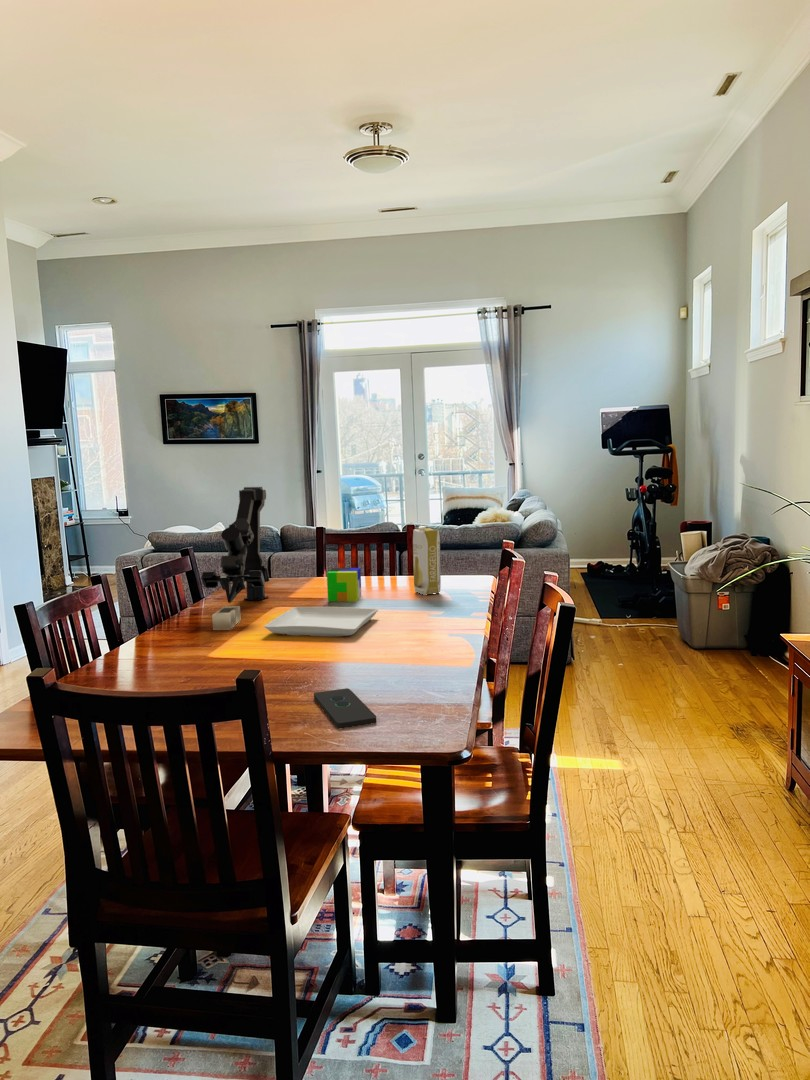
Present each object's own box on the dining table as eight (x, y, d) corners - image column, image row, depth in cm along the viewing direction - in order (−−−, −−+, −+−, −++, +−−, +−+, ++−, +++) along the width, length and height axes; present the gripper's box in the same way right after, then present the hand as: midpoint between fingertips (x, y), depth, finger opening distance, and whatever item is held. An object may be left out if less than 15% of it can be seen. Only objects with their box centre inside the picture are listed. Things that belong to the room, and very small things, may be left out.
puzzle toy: (361, 595, 278) (360, 567, 277) (356, 601, 268) (355, 572, 267) (333, 596, 279) (332, 568, 278) (328, 601, 269) (326, 572, 268)
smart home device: (349, 687, 172) (378, 716, 153) (349, 694, 172) (378, 725, 153) (312, 692, 169) (337, 722, 150) (312, 700, 169) (337, 731, 150)
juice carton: (411, 592, 282) (410, 525, 278) (431, 589, 285) (430, 524, 282) (423, 596, 273) (421, 528, 270) (443, 594, 276) (442, 526, 273)
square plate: (356, 641, 217) (355, 627, 216) (262, 638, 222) (262, 625, 222) (379, 619, 243) (378, 606, 242) (294, 617, 248) (294, 605, 248)
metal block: (224, 606, 243) (212, 614, 231) (240, 605, 242) (228, 614, 230) (225, 622, 243) (213, 631, 231) (240, 621, 243) (229, 631, 231)
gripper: (200, 545, 243) (192, 587, 234) (260, 544, 243) (254, 586, 233) (209, 566, 252) (201, 608, 243) (267, 565, 252) (261, 606, 242)
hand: (229, 601), depth 240 cm, fingers closed
